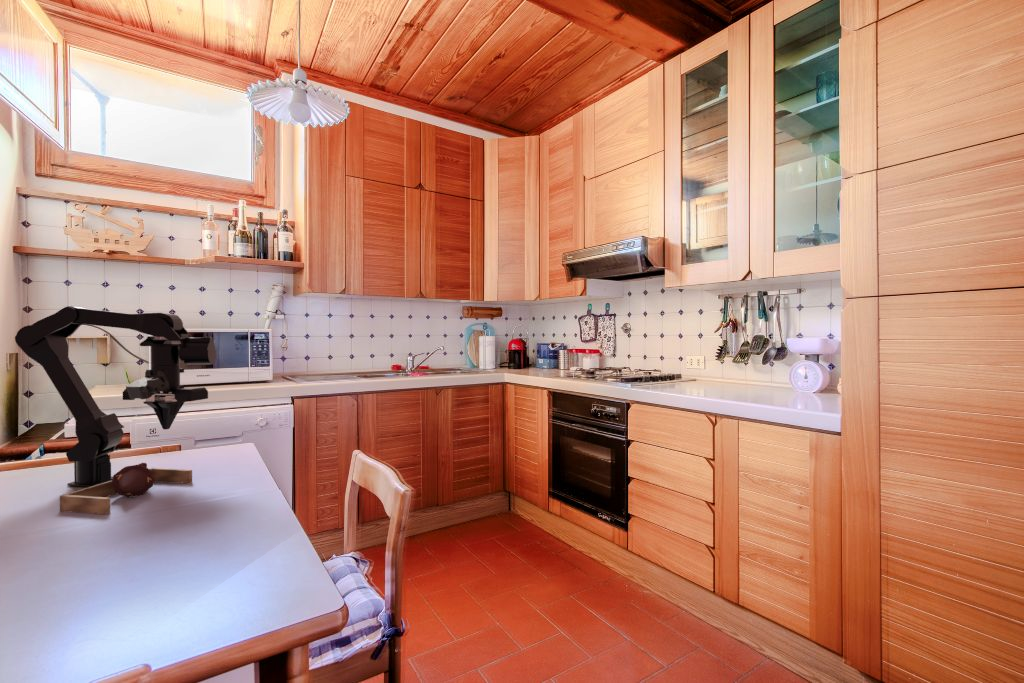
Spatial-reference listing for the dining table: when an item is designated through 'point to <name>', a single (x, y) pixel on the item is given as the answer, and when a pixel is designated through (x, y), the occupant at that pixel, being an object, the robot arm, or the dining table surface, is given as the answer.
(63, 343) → the robot arm
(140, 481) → the icecream
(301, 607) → the dining table surface
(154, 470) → the holder
